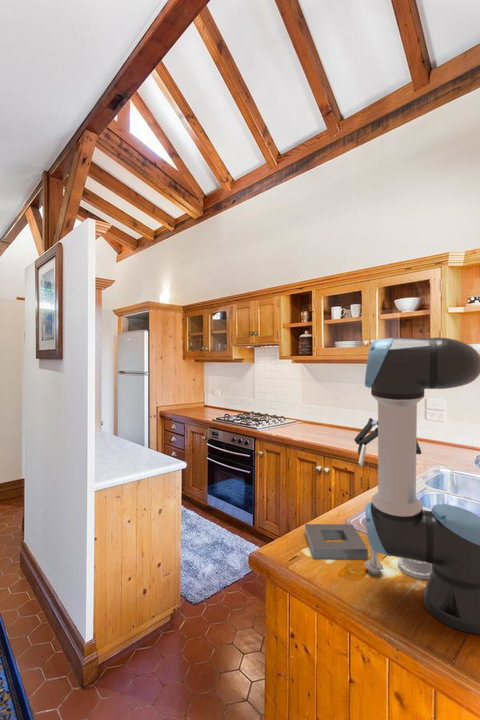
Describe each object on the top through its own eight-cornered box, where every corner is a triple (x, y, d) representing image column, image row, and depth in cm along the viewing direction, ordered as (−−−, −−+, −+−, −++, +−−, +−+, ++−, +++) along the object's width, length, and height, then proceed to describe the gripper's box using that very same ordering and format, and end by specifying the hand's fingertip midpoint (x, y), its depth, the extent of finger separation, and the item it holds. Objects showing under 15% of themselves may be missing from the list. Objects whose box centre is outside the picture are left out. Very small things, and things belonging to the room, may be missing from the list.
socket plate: (367, 559, 109) (367, 549, 109) (313, 558, 109) (313, 548, 109) (352, 533, 125) (352, 524, 125) (304, 532, 125) (304, 524, 125)
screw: (384, 570, 103) (380, 579, 99) (367, 565, 105) (362, 573, 101) (384, 524, 103) (380, 531, 99) (367, 520, 105) (362, 527, 101)
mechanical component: (405, 556, 111) (391, 569, 104) (405, 541, 111) (392, 554, 104) (441, 569, 104) (429, 585, 97) (442, 554, 104) (429, 568, 97)
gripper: (435, 419, 121) (427, 481, 111) (358, 410, 135) (346, 465, 125) (433, 408, 116) (425, 472, 106) (353, 400, 130) (340, 456, 120)
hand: (382, 468), depth 115 cm, fingers open, 13 cm apart
